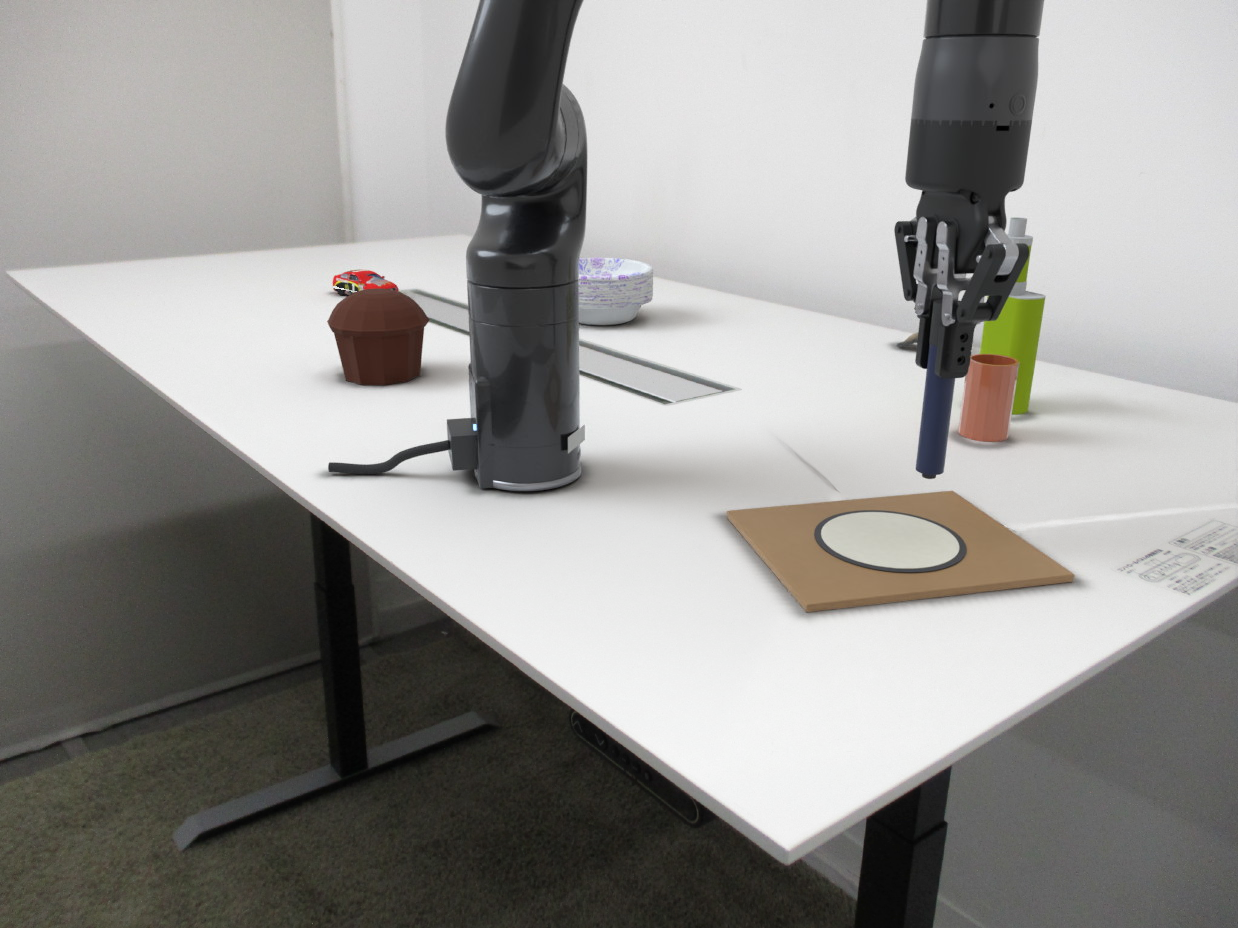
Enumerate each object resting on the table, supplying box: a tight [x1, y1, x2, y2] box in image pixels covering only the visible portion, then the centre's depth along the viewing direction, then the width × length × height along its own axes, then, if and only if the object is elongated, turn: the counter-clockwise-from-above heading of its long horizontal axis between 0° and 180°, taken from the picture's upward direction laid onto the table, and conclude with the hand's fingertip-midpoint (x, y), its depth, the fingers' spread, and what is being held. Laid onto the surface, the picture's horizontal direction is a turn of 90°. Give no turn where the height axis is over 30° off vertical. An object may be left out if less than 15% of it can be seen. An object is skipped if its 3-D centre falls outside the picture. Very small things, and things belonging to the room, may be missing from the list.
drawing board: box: [726, 490, 1075, 613], centre depth 75 cm, size 20×16×1 cm
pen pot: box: [957, 353, 1019, 443], centre depth 98 cm, size 5×5×8 cm
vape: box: [979, 217, 1046, 416], centre depth 104 cm, size 4×6×20 cm, turn 27°
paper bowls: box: [579, 257, 654, 326], centre depth 148 cm, size 15×15×8 cm
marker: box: [915, 299, 961, 480], centre depth 72 cm, size 2×2×13 cm
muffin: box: [326, 288, 430, 386], centre depth 118 cm, size 12×11×10 cm
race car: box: [332, 269, 400, 296], centre depth 164 cm, size 13×5×4 cm, turn 50°
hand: (940, 371), depth 71 cm, fingers closed on marker, 2 cm apart
